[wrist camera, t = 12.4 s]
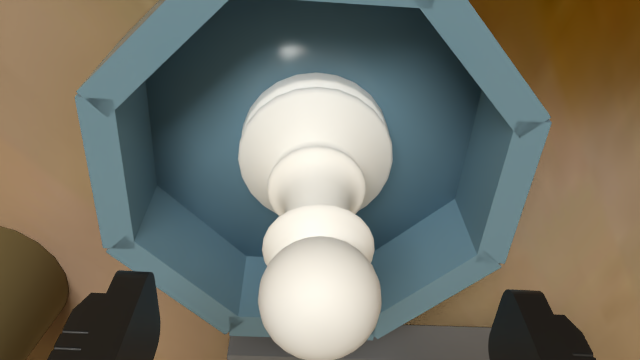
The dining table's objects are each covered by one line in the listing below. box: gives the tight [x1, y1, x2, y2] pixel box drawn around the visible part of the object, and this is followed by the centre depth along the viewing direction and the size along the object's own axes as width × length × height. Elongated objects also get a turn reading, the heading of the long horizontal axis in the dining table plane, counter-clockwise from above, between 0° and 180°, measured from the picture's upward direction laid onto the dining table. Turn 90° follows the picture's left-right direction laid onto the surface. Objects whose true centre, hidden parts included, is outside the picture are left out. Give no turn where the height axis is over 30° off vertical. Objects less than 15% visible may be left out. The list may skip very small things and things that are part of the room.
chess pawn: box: [238, 72, 393, 360], centre depth 15 cm, size 5×5×9 cm
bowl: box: [75, 0, 552, 340], centre depth 18 cm, size 13×13×4 cm
